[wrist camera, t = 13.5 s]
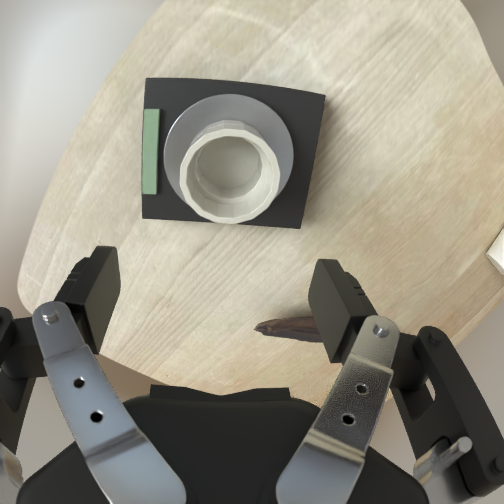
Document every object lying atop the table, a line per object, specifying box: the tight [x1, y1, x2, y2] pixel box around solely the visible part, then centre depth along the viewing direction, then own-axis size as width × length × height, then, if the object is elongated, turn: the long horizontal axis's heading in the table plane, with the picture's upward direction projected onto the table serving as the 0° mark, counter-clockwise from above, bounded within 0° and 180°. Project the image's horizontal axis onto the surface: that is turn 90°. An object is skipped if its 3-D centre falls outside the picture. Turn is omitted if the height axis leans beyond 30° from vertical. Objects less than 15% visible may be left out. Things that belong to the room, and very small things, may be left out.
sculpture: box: [254, 317, 323, 343], centre depth 37 cm, size 5×29×5 cm, turn 64°
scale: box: [142, 78, 325, 229], centre depth 25 cm, size 14×12×3 cm
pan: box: [164, 94, 294, 206], centre depth 23 cm, size 10×10×1 cm
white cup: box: [180, 120, 281, 224], centre depth 21 cm, size 6×6×5 cm
